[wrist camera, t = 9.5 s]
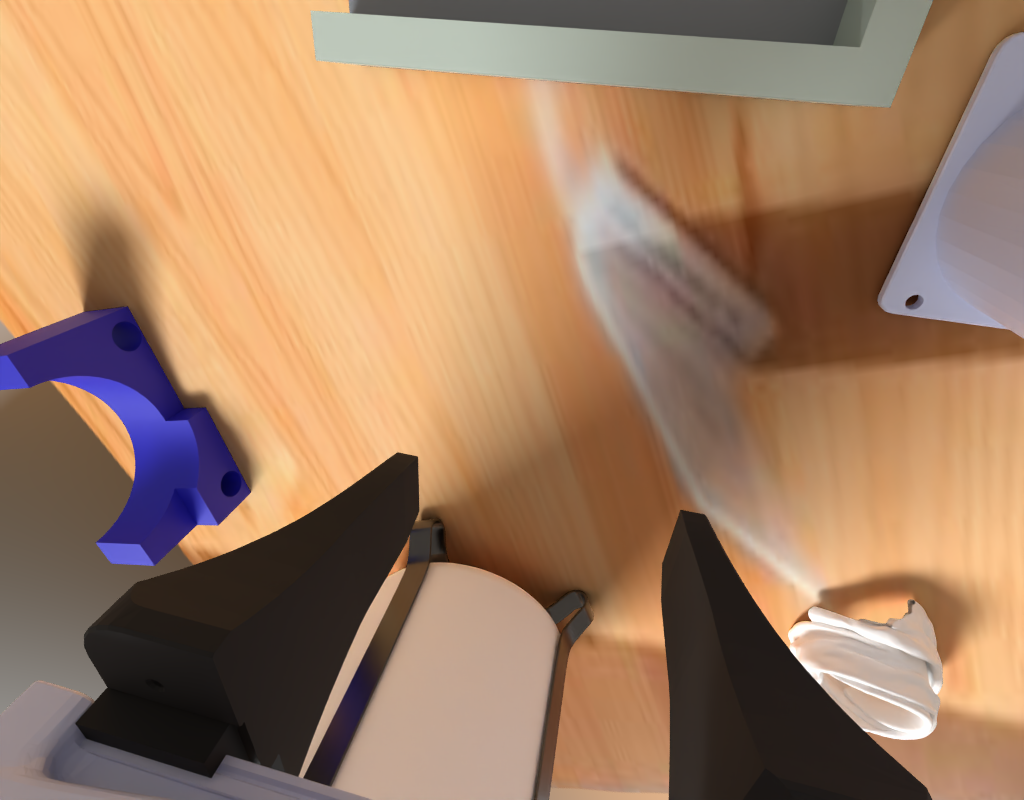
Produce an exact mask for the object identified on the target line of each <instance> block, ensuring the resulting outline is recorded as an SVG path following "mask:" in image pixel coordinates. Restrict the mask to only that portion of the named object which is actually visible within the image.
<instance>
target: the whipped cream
mask: <svg viewBox="0 0 1024 800" xmlns="http://www.w3.org/2000/svg"><path fill="white" fill-rule="evenodd" d="M808 615H809V618H810V619H811V621H801V622H798V623H796V624H795V625H794V626H793V627H792V628H791V629H790V631H789V633H788V636H789V639H790V641H791V645H790V651H791V652H792V653H793V655H794V656H795V657H796V658H797V659H798V661H799V662H800V663H801V664H802V665H803V666H804V668H805V669H806V670H807V671H808V672H809V673H810V674H811V676H812V677H813V678H814V679H815V680H816V681H817V682H818V683H819V684H820V686H821V687H822V688H823V689H824V690H825V691H826V692H827V693H828V694H829V696H830V697H831V698H832V699H833V700H834V701H835V702H836V703H837V704H838V705H839V706H840V707H841V708H842V709H843V710H844V711H845V712H846V713H847V714H848V715H849V716H850V717H851V718H852V719H853V720H854V721H855V722H856V723H857V724H858V725H859V726H860V727H861V728H862V729H863V730H864V731H866V732H871V733H875V734H878V735H881V736H884V737H889V738H894V739H902V740H907V739H919V738H924V737H926V736H928V735H929V734H931V733H932V732H933V730H934V729H935V728H936V725H937V720H936V719H937V714H938V710H939V706H940V699H939V697H938V696H937V694H938V693H939V691H940V689H941V687H942V684H943V677H942V673H943V672H942V662H941V659H940V657H939V654H938V652H937V650H936V649H937V642H936V636H935V632H934V629H933V625H932V623H931V621H930V620H929V618H928V616H927V614H926V612H925V610H924V609H923V607H922V606H921V605H920V604H919V603H917V602H916V601H914V600H911V599H910V600H908V613H905V615H904V617H903V618H902V619H895V618H890V619H888V622H887V623H886V624H882V623H877V622H873V621H869V620H865V619H860V620H855V619H852V618H849V617H845V616H843V615H840V614H837V613H835V612H832V611H829V610H825V609H822V608H819V607H812V608H811V609H810V610H809V612H808Z"/></svg>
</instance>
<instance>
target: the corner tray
mask: <svg viewBox="0 0 1024 800" xmlns="http://www.w3.org/2000/svg"><path fill="white" fill-rule="evenodd" d="M932 2H933V0H349V9H350V13H338V12H323V11H311V18H312V28H313V37H314V46H315V56H316V60H317V61H326V62H335V63H344V64H353V65H362V66H374V67H386V68H399V69H411V70H423V71H435V72H447V73H459V74H471V75H483V76H495V77H508V78H520V79H532V80H544V81H556V82H568V83H580V84H592V85H604V86H617V87H629V88H641V89H653V90H665V91H677V92H689V93H701V94H713V95H725V96H738V97H750V98H762V99H774V100H786V101H798V102H810V103H822V104H834V105H847V106H866V107H889V108H890V107H891V105H892V102H893V100H894V97H895V95H896V92H897V90H898V87H899V85H900V82H901V80H902V77H903V75H904V72H905V70H906V67H907V65H908V62H909V60H910V57H911V55H912V52H913V50H914V47H915V45H916V42H917V40H918V37H919V35H920V32H921V30H922V27H923V25H924V22H925V20H926V17H927V15H928V12H929V10H930V7H931V5H932Z"/></svg>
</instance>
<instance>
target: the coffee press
mask: <svg viewBox="0 0 1024 800" xmlns="http://www.w3.org/2000/svg"><path fill="white" fill-rule="evenodd" d="M577 608H581V609H580V610H579V611H578V612H577V613H576V614H575V615H574V616H573V618H572V619H571V620H570V621H569V622H568V624H567V625H566V626H565V628H564V629H563V631H562V633H561V635H560V632H559V630H558V628H557V626H556V624H557V623H559V622H560V621H561V620H563V619H564V618H565V617H566V616H568V615H569V614H570V613H571V612H572V611H574V610H575V609H577ZM593 617H594V614H593V611H592V608H591V606H590V603H589V601H588V598H587V596H586V594H585V593H584V592H582V591H579V590H573V591H570V592H568V593H566V594H565V595H564V596H563V597H561V598H560V599H559V600H558V601H556V602H555V603H554V604H552V605H551V606H549V607H547V608H543V607H542V606H541V605H540V604H539V603H538V602H537V601H536V600H535V599H534V598H533V597H532V596H531V595H530V594H528V593H527V592H526V591H524V590H523V589H521V588H520V587H518V586H517V585H515V584H514V583H512V582H510V581H508V580H507V579H505V578H503V577H500V576H498V575H496V574H494V573H491V572H488V571H486V570H483V569H479V568H476V567H472V566H468V565H463V564H456V563H450V562H449V559H448V556H447V550H446V537H445V528H444V525H443V523H442V521H441V520H440V519H438V518H436V519H428V520H420V521H415V523H414V525H413V528H412V530H411V533H410V541H409V556H408V562H407V566H406V568H404V569H402V570H399V571H397V572H395V573H393V574H392V575H390V576H389V577H387V578H386V579H385V581H384V583H383V585H382V586H381V588H380V590H379V592H378V593H377V595H376V597H375V599H374V600H373V602H372V604H371V606H370V607H369V609H368V611H367V613H366V615H365V617H364V619H363V621H362V623H361V625H360V627H359V629H358V631H357V633H356V636H355V638H354V640H353V642H352V645H351V647H350V649H349V651H348V654H347V656H346V658H345V661H344V663H343V665H342V668H341V670H340V672H339V675H338V677H337V679H336V682H335V684H334V687H333V689H332V691H331V694H330V696H329V699H328V701H327V704H326V706H325V709H324V711H323V714H322V716H321V719H320V721H319V724H318V726H317V729H316V731H315V734H314V737H313V739H312V742H311V745H310V747H309V750H308V753H307V755H306V758H305V761H304V763H303V766H302V769H301V771H300V774H299V777H300V778H304V779H307V780H310V781H313V782H317V783H320V784H323V785H326V786H330V787H333V788H336V789H339V790H343V791H346V792H349V793H353V794H356V795H359V796H362V797H366V798H369V799H372V800H549V796H550V788H551V781H552V773H553V765H554V758H555V750H556V743H557V735H558V727H559V720H560V712H561V705H562V697H563V690H564V682H565V675H566V668H567V662H568V656H569V652H570V649H571V647H572V646H573V644H574V643H575V641H576V640H577V639H578V637H579V636H580V635H581V634H582V633H583V632H584V630H585V629H586V628H587V627H588V626H589V625H590V624H591V622H592V621H593Z"/></svg>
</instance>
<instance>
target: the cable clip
mask: <svg viewBox="0 0 1024 800" xmlns="http://www.w3.org/2000/svg"><path fill="white" fill-rule="evenodd" d="M49 380H50V381H57V382H62V383H66V384H70V385H73V386H76V387H79V388H81V389H84V390H86V391H88V392H90V393H92V394H93V395H95V396H97V397H98V398H100V399H101V400H102V401H104V402H105V403H106V404H107V405H108V406H110V407H111V408H112V409H113V410H114V412H115V413H116V414H117V415H118V416H119V418H120V419H121V420H122V422H123V423H124V425H125V427H126V429H127V431H128V433H129V435H130V438H131V440H132V443H133V448H134V453H135V466H136V469H135V478H134V484H133V488H132V491H131V495H130V497H129V499H128V502H127V504H126V506H125V508H124V510H123V512H122V513H121V515H120V516H119V518H118V520H117V521H116V522H115V523H114V525H113V526H112V527H111V528H110V529H109V530H108V531H107V533H106V534H105V535H104V536H103V537H101V538H100V539H99V540H98V541H97V542H96V544H97V545H98V546H99V548H100V549H101V550H102V552H103V553H104V554H105V556H106V557H107V558H108V560H109V561H110V562H111V563H115V564H135V565H152V566H155V565H156V564H157V563H158V562H159V561H160V560H161V559H162V558H163V557H164V556H165V555H166V554H167V553H168V552H169V551H170V550H171V549H172V548H174V547H175V546H176V545H177V544H178V543H179V542H180V541H181V540H182V539H183V538H184V537H185V536H186V535H187V534H188V533H189V532H190V531H191V530H192V529H193V528H194V527H195V526H196V525H219V524H220V523H221V522H222V521H223V520H224V519H225V518H226V517H227V516H228V515H229V514H230V513H231V512H232V511H233V510H234V509H235V508H236V507H237V506H238V505H239V504H240V503H241V502H242V501H243V500H244V499H245V498H246V497H247V496H248V495H249V494H250V493H251V492H250V490H249V488H248V486H247V484H246V482H245V480H244V478H243V477H242V475H241V473H240V471H239V469H238V467H237V465H236V463H235V461H234V460H233V458H232V456H231V454H230V452H229V450H228V448H227V446H226V445H225V443H224V441H223V439H222V437H221V435H220V433H219V431H218V430H217V428H216V426H215V424H214V422H213V420H212V418H211V416H210V414H209V413H208V411H207V409H206V407H204V408H185V409H184V407H183V405H182V403H181V402H180V400H179V398H178V396H177V394H176V393H175V391H174V389H173V387H172V385H171V384H170V382H169V380H168V378H167V376H166V375H165V373H164V371H163V369H162V367H161V366H160V364H159V362H158V360H157V358H156V357H155V355H154V353H153V351H152V349H151V348H150V346H149V344H148V342H147V340H146V339H145V337H144V335H143V333H142V331H141V330H140V328H139V326H138V324H137V322H136V321H135V319H134V317H133V315H132V313H131V312H130V310H129V308H128V306H127V307H119V308H111V309H103V310H95V311H87V312H82V313H80V314H77V315H75V316H72V317H69V318H67V319H64V320H62V321H59V322H56V323H54V324H51V325H49V326H46V327H43V328H41V329H38V330H36V331H33V332H30V333H28V334H25V335H23V336H20V337H17V338H15V339H12V340H10V341H7V342H5V343H2V344H0V390H6V389H19V388H30V387H32V386H35V385H37V384H40V383H42V382H45V381H49Z"/></svg>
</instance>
